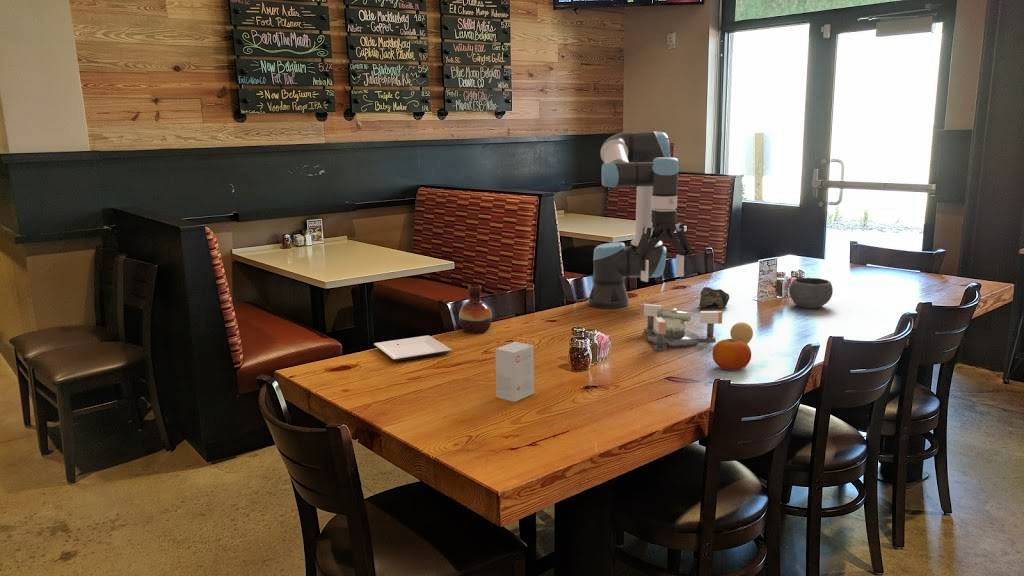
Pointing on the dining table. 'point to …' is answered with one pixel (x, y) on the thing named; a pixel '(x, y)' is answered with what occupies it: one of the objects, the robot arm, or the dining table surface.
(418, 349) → the plate
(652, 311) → the knob
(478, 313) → the vase
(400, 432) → the dining table surface
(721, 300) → the fossil
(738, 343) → the fruit
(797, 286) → the bowl
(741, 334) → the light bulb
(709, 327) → the knob
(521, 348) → the small box
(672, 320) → the tribrach
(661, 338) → the knob
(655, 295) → the dining table surface
